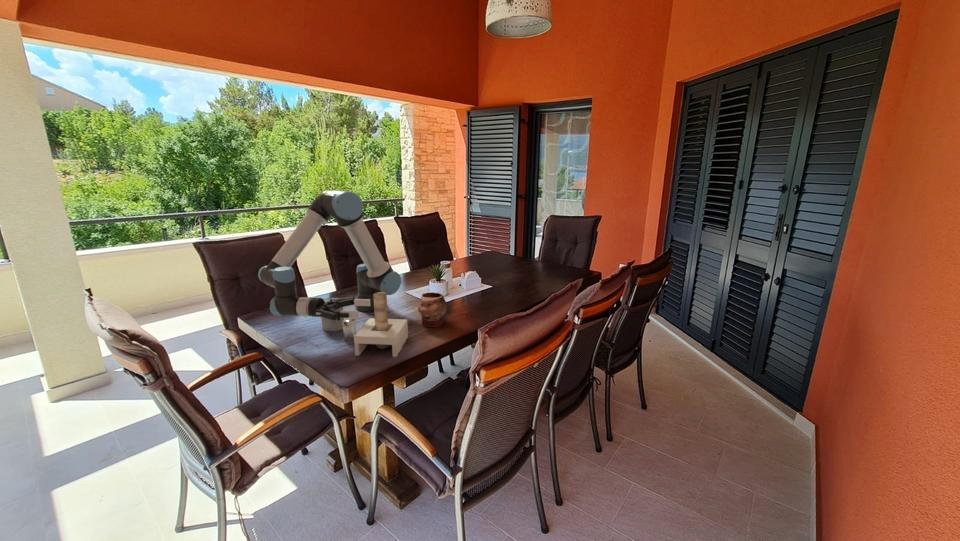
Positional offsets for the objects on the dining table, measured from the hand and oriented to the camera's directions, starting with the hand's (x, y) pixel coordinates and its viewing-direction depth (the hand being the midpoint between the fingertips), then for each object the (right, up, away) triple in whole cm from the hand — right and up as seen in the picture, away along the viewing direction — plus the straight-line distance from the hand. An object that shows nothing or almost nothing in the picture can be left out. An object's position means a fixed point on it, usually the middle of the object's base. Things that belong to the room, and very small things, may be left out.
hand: (364, 308), depth 151 cm
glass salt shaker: (-9, -14, +10) cm, 19 cm away
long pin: (+6, -15, +4) cm, 17 cm away
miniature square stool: (+6, -15, +4) cm, 17 cm away
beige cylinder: (-20, -11, +22) cm, 32 cm away
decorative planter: (+24, -10, +28) cm, 38 cm away
